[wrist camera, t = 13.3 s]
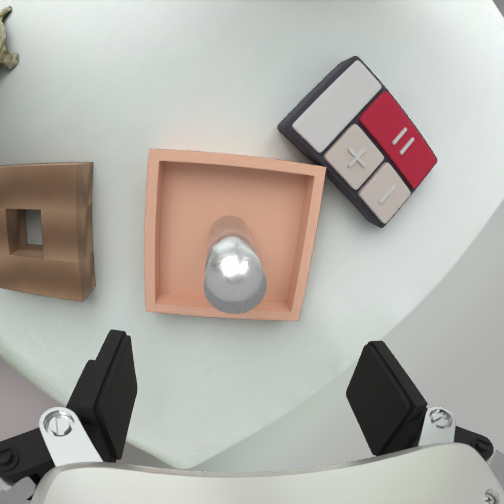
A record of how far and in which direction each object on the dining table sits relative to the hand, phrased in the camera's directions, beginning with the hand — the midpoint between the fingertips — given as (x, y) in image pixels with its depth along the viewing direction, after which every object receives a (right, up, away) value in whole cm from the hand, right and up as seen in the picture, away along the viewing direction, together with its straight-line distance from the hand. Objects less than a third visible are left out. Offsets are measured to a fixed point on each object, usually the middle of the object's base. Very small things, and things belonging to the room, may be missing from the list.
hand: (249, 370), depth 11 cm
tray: (-2, +7, +20) cm, 22 cm away
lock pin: (-2, +6, +20) cm, 21 cm away
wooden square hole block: (-24, +8, +18) cm, 31 cm away
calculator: (+12, +16, +19) cm, 28 cm away
